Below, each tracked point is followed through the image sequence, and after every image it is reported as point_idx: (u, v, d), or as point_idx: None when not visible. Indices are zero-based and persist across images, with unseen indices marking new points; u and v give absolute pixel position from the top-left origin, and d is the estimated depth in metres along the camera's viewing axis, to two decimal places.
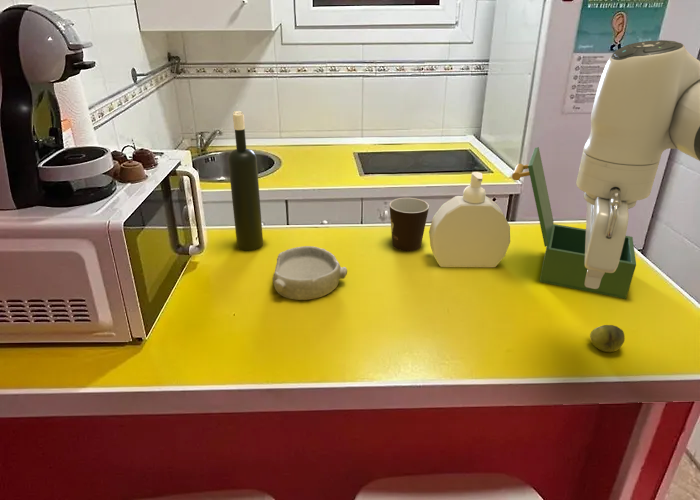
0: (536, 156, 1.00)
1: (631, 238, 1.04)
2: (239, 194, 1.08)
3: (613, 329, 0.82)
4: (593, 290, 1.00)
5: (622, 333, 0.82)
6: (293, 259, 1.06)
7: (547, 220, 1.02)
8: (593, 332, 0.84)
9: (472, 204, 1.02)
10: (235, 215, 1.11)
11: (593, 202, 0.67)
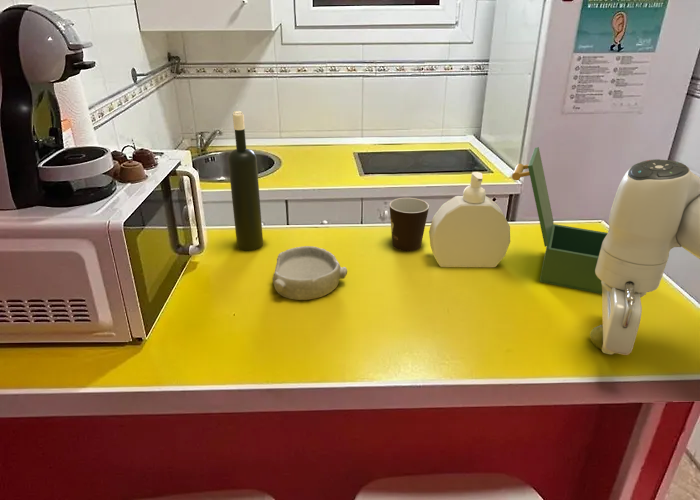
0: (536, 156, 1.00)
1: None
2: (239, 194, 1.08)
3: None
4: (593, 290, 1.00)
5: None
6: (293, 259, 1.06)
7: (547, 220, 1.02)
8: (593, 331, 0.84)
9: (472, 204, 1.02)
10: (235, 215, 1.11)
11: (610, 290, 0.78)
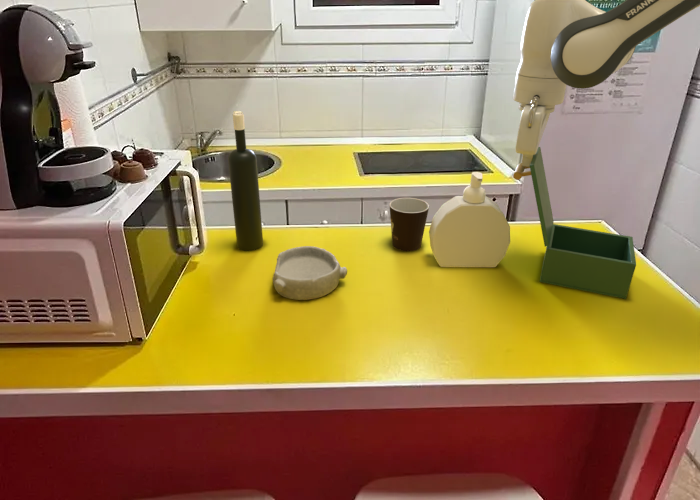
0: (538, 156, 1.00)
1: (631, 238, 1.04)
2: (239, 194, 1.08)
3: None
4: (593, 290, 1.00)
5: None
6: (293, 259, 1.06)
7: (547, 220, 1.02)
8: None
9: (472, 204, 1.02)
10: (235, 215, 1.11)
11: None
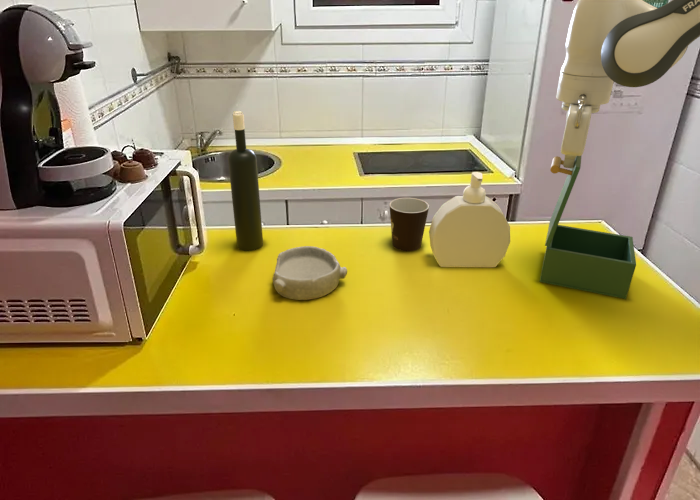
0: (580, 158, 0.97)
1: (631, 238, 1.04)
2: (239, 194, 1.08)
3: None
4: (593, 290, 1.00)
5: None
6: (293, 259, 1.06)
7: None
8: None
9: (472, 204, 1.02)
10: (235, 215, 1.11)
11: (568, 109, 0.91)
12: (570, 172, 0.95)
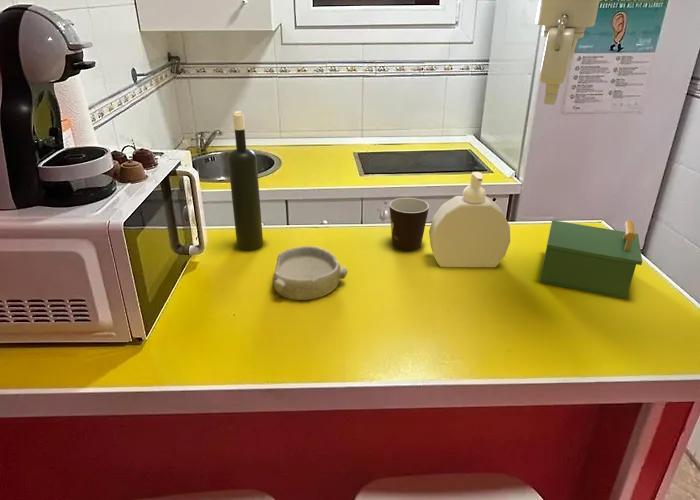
0: None
1: None
2: (239, 194, 1.08)
3: None
4: (593, 290, 1.00)
5: None
6: (293, 259, 1.06)
7: None
8: None
9: (472, 204, 1.02)
10: (235, 215, 1.11)
11: None
12: (627, 249, 0.97)
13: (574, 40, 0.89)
